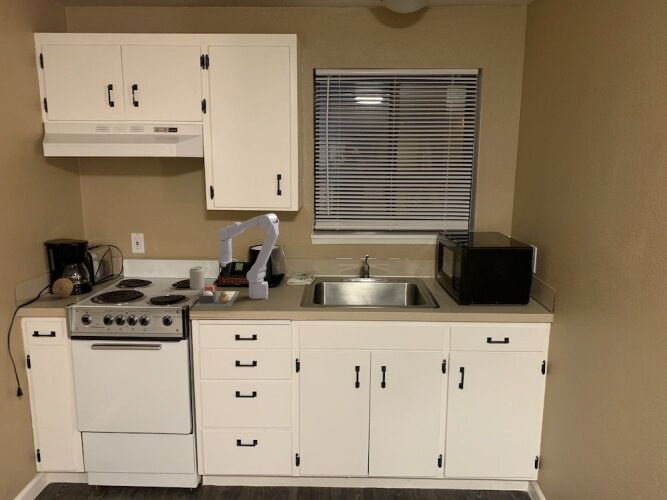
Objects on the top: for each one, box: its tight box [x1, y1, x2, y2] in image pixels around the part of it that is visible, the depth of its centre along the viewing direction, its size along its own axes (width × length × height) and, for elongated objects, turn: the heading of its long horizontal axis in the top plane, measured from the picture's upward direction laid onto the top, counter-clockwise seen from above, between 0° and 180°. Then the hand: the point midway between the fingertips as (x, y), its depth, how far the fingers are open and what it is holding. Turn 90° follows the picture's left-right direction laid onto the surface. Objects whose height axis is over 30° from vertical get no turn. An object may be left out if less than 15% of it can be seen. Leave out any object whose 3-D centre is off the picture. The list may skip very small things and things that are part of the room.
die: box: [204, 284, 215, 292], centre depth 240 cm, size 4×4×4 cm
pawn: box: [218, 290, 229, 304], centre depth 226 cm, size 5×5×5 cm
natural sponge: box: [51, 277, 74, 299], centre depth 231 cm, size 9×9×10 cm
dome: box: [203, 290, 213, 296], centre depth 227 cm, size 5×5×5 cm
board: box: [194, 290, 240, 307], centre depth 233 cm, size 17×26×4 cm, turn 2°
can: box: [188, 266, 205, 290], centre depth 252 cm, size 8×8×12 cm
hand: (226, 277), depth 240 cm, fingers closed
